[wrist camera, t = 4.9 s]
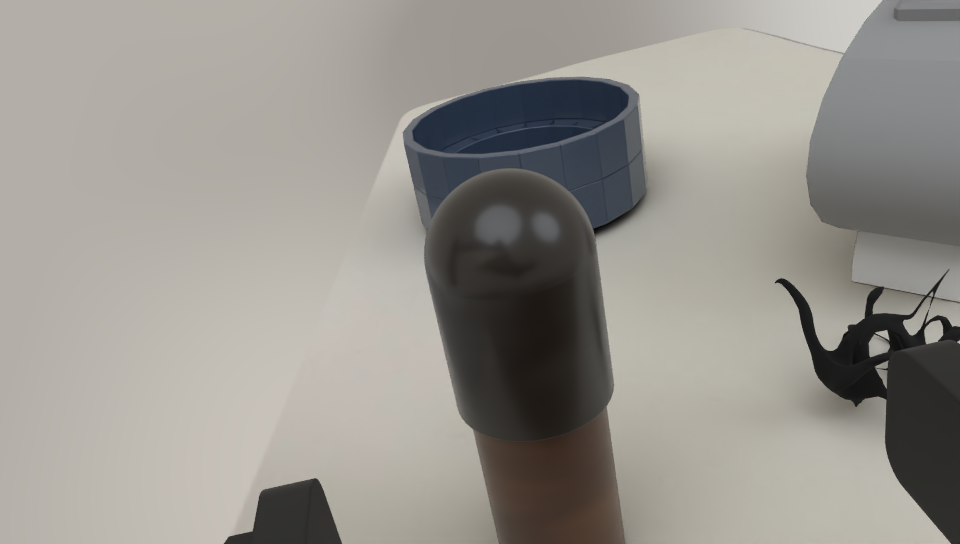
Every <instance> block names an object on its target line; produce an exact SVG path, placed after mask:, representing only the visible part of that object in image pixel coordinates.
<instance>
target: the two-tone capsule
mask: <svg viewBox="0 0 960 544" xmlns="http://www.w3.org/2000/svg"><path fill="white" fill-rule="evenodd" d="M424 263H425V270H426V275H427V279H428V283H429V288H430V292H431V296H432V300H433V305H434V309H435V313H436V318H437V322H438V326H439V330H440V335H441V339H442V343H443V347H444V352H445V356H446V360H447V365H448V369H449V373H450V377H451V382H452V386H453V390H454V394H455V399H456V403H457V407H458V411H459V414H460V415H461V417H462V419H463V420H464V421H465V422H466V424H467V425H469V426H470V427H471V428H472V429H473V431H474V436H475V440H476V444H477V449H478V453H479V458H480V462H481V466H482V471H483V475H484V480H485V484H486V488H487V493H488V497H489V502H490V506H491V510H492V515H493V519H494V524H495V528H496V532H497V537H498V541H499V544H625V538H624V531H623V524H622V516H621V509H620V501H619V494H618V487H617V479H616V472H615V465H614V457H613V450H612V442H611V435H610V428H609V420H608V413H607V405H608V403H609V401H610V399H611V397H612V394H613V390H614V379H613V372H612V364H611V356H610V348H609V341H608V333H607V325H606V317H605V309H604V302H603V294H602V286H601V278H600V271H599V263H598V255H597V247H596V240H595V235H594V231H593V228H592V225H591V223H590V220H589V218H588V216H587V214H586V212H585V210H584V208H583V207H582V206H581V204H580V203H579V202H578V200H577V199H576V198H575V197H574V196H573V195H572V194H571V193H570V192H569V191H568V190H567V189H566V188H565V187H563V186H562V185H561V184H559V183H558V182H556V181H555V180H553V179H551V178H549V177H547V176H545V175H543V174H540V173H537V172H534V171H530V170H525V169H517V168H504V169H496V170H491V171H487V172H484V173H481V174H478V175H476V176H474V177H472V178H470V179H468V180H466V181H465V182H463V183H461V184H460V185H459V186H458V187H456V188H455V189H454V190H453V191H452V192H450V194H449V195H448V196H447V197H446V198H445V199H444V200H443V201H442V203H441V204H440V206H439V207H438V209H437V210H436V212H435V214H434V216H433V218H432V220H431V222H430V225H429V228H428V231H427V235H426V239H425V247H424Z"/></svg>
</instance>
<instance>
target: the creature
mask: <svg viewBox="0 0 960 544" xmlns="http://www.w3.org/2000/svg"><path fill="white" fill-rule="evenodd" d="M948 271H949V269H948ZM948 271H947V272H948ZM947 272H946V273H945V274H944V275H943V276H942V278H941V279H940V280H939V281H938V282H937V283H936V284H935V285H934V287H933V288H932V289H931V290H930V291H929V292H928V294H927V295H926V296H925V297H924V298H923V300H922V301H921V302H920V304H919V305H918V307H917V308H916V309H915V311H914V312H913V313H912V314H910V315H899V314H888V313H881V314H873V310H872V309H873V305H874V303H875V302H876V300H877V299H878V298H879V296H880V295H881V294H882V291H883V289H884V287H883V286H882V287H878V288H875V289H874V290H873V291H871V292H870V294H869V295H868V297H867V303H866V310H865V319H863V320H862V321H860V322H859V323H858V324H856V325H849V326H848V331H847V332H846V333H845V334H844V335H843V338H842V341H841V343H840V344H839V346H838V348H837V349H835V350H834V351H827V350H826V349H824V348H823V347H822V345H821V344H820V342H819V340H818V338H817V335H816V332H815V328H814V323H813V316H812V313H811V310H810V307H809V305H808V303H807V301H806V300H805V298H804V297H803V296H802V294H801V293H800V292H799V291H798V290H797V289H796V288H795V287H794V286H793V285H792V284H791V283H790V282H789V281H787V280H785V279H782V278H781V279H778V280H777V281H776V282H775V283H780V284H782V285H783V286H784V287H785V288H786V289H787V290H788V292H789V293H790V295H791V296H792V298H793V299H794V301H795V303H796V305H797V307H798V309H799V314H800V319H801V325H802V328H803V332H804V335H805V338H806V341H807V344H808V347H809V349H810V352H811V356H812V360H813V365H814V369H815V372H816V374H817V376H818V378H819V379H820V380H821V381H822V383H823V384H824V385H825V386H826V387H827V388H829V389H830V390H831V391H832V392H834V393H836V394H837V395H839V396H840V397H842V398H844V399H847V400H851V401H852V402H853V403H854V404H855V406H856V407H857V406H858V404H859V403H861V402H862V401H863V400H864V399H865V398H872V397H877V396H879V397H881V398H884V399H886V400H887V389H886V387H885V386H884V384H883V381H882V379H881V378H880V376H879V375H878V373H877V371H876V369H875V366H877V365H879V364H881V363H883V362H886V361H888V360H889V358H890V356H891V355H892V353H893V352H895V351H899V350H903V349H908V348H912V347H917V346H921V345H926V342H925V336H924V330H925V328H926V326H927V325H928V324H929V323H930V322H932V321H937V320H940V321H941V323H942V325H943V336H942V337H941V338H940V340H939V341H944V340H953V341H955V342H958V341H959V340H960V327H957V326H954V327H952V325H951V324H950V322H949V320H948V319H947V318H946V317H943V316H939V315H937V316H935V317H934V318H932V319H930V320H929V321H928V322H927V323H926V319H927V315H928V312H929V310H928V312H927V315H926V317H925V320H924V322H923V325H922V327H921V329H920V330H919V331H918V332H917V333H916V334H915V335H913V336H911V335H910V334H909V333H908V332H907V330H906V329H905V327H904V325H903V321H904V320H907V319H911V318H912V317H913V316H914V315H915V314H916V312H917V311H918V309H919V308H920V306H921V305H922V303H923V302H924V301H925V299H926V298H927V297H928V296H929V295H930V293H931V292H932V291H933V297H932V300H931V303H932V301H933V298H934V296H935V293H936V291H937V289H938V287H939V285H940V283H941V281H942V280H943V278H944V277H945V275H946V274H947ZM930 306H931V304H930ZM929 309H930V308H929ZM925 323H926V324H925ZM884 330H888V335H889V340H890V341H889V340H887V339H885V338H884V337H882V336H880V335H878V334H876V333H875V332H879V331H884ZM874 334H875V335H877V336H880V337H881V338H883V339H885V340H886V341H888V342H889V344H890V348H889V350H888V352H887V353H883V354H880V355H877V356H874V357H871V358H870V356H869V341H870V340H871V338H872V337H873V335H874ZM939 341H938V342H939ZM892 351H893V352H892ZM877 369H879V368H877ZM883 370H888V368H887V369H883Z"/></svg>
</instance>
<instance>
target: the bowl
mask: <svg viewBox="0 0 960 544" xmlns="http://www.w3.org/2000/svg"><path fill="white" fill-rule="evenodd" d="M403 139H404V146H405V150H406V155H407V159H408V163H409V168H410V172H411V177H412V181H413V184H414V190H415V194H416V198H417V203H418V207H419V211H420V216H421V220H422V224H423V226H425V227H426V228H427V229H428V228H429V225H430V222H431V220H432V218H433V216H434V214H435V212H436V210H437V209H438V207H439V206H440V204H441V203H442V201H443V200H444V199H445V198H446V197H447V196H448V195H449V194H450V192H452V191H453V190H454V189H455V188H456V187H458V186H459V185H460V184H461V183H463V182H465V181H466V180H468V179H470V178H472V177H474V176H476V175H478V174H481V173H484V172H487V171H491V170H496V169H504V168H517V169H525V170H530V171H534V172H537V173H540V174H543V175H545V176H547V177H549V178H551V179H553V180H555V181H556V182H558V183H559V184H561V185H562V186H563V187H565V188H566V189H567V190H568V191H569V192H570V193H571V194H572V195H573V196H574V197H575V198H576V199H577V200H578V202H579V203H580V204H581V206H582V207H583V208H584V210H585V212H586V214H587V216H588V218H589V220H590V223H591V225H592V228H593V229H594V228H596V227H599V226H602V225H604V224H607V223H609V222H611V221H612V220H614V219H615V218H617V217H619V216H620V215H622V214H624V213H625V212H627V211H629V210H630V209H632V208H633V207H634V206H635V205H636V203H637V202H638V201H639V200H640V199H641V197H642V196H643V195H644V194H645V192H646V185H647V172H646V161H645V151H644V140H643V130H642V119H641V108H640V98H639V94H638V93H637V92H636V91H635V90H634V89H633V88H631V87H630V86H629V85H627V84H623V83H620V82H617V81H613V80H610V79H602V78H590V77H560V78H546V79H538V80H529V81H521V82H515V83H511V84H506V85H501V86H496V87H491V88H487V89H483V90H480V91H476V92H473V93H470V94H466V95H463V96H460V97H457V98H454V99H452V100H450V101H447V102H445V103H443V104H440V105H438V106H436V107H433V108H431V109H429V110H428V111H426V112H425V113H423V114H421V115H420V116H418V117H417V118H415V119H413V120H412V122H411V123H410V124H409V125H408V126H407V128H406V129H405V130H404V131H403Z"/></svg>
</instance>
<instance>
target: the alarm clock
mask: <svg viewBox="0 0 960 544" xmlns="http://www.w3.org/2000/svg"><path fill="white" fill-rule="evenodd" d="M806 177H807V184H808V191H809V197H810V204H811V206H812V207H813V209H814V210H815V212H816V213H817V215H818V216H819V218H820V219H821V221H822V222H825V223H827V224H830V225H833V226H836V227H838V228H844V229H850V230H857V231H858V234H857V239H856V244H855V249H854V257H853V265H852V281H854V282H859V283H865V284H870V285H875V286H880V287H882V286H883V287H885V288H890V289H895V290H900V291H906V292H911V293H916V294H921V295H927V294H928V292H929V291H930V290H931V289H932V288H933V287H934V285H935V284H936V283H937V282H938V281H939V280H940V279H941V278H942V276H943V275H944V274H945V273H946V272H947V271H948V269H949V271H948V272H947V274H946V275H945V277H944V278H943V280H942V281H941V283H940V285H939V287H938V289H937V291H936V293H935V296H934V297H936V298H941V299H947V300H952V301H957V302H960V0H883V1H882V2H881V3H880V4H879V5H878V7H877V8H876V9H875V10H874V11H873V13H872V14H871V15H870V16H869V17H868V18H867V19H866V21H865V22H864V24H863V25H862V27H861V28H860V30H859V31H858V33H857V35H856V36H855V38H854V39H853V41H852V42H851V44H850V46H849V47H848V49H847V50H846V52H845V53H844V55H843V57H842V58H841V60H840V62H839V65H838V67H837V69H836V71H835V73H834V75H833V78H832V80H831V82H830V84H829V86H828V88H827V91H826V93H825V95H824V97H823V99H822V103H821V106H820V110H819V113H818V116H817V120H816V123H815V126H814V130H813V133H812V136H811V140H810V148H809V157H808V166H807V175H806ZM929 296H931V297H933V291H932V292H931V293H930V295H929Z"/></svg>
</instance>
